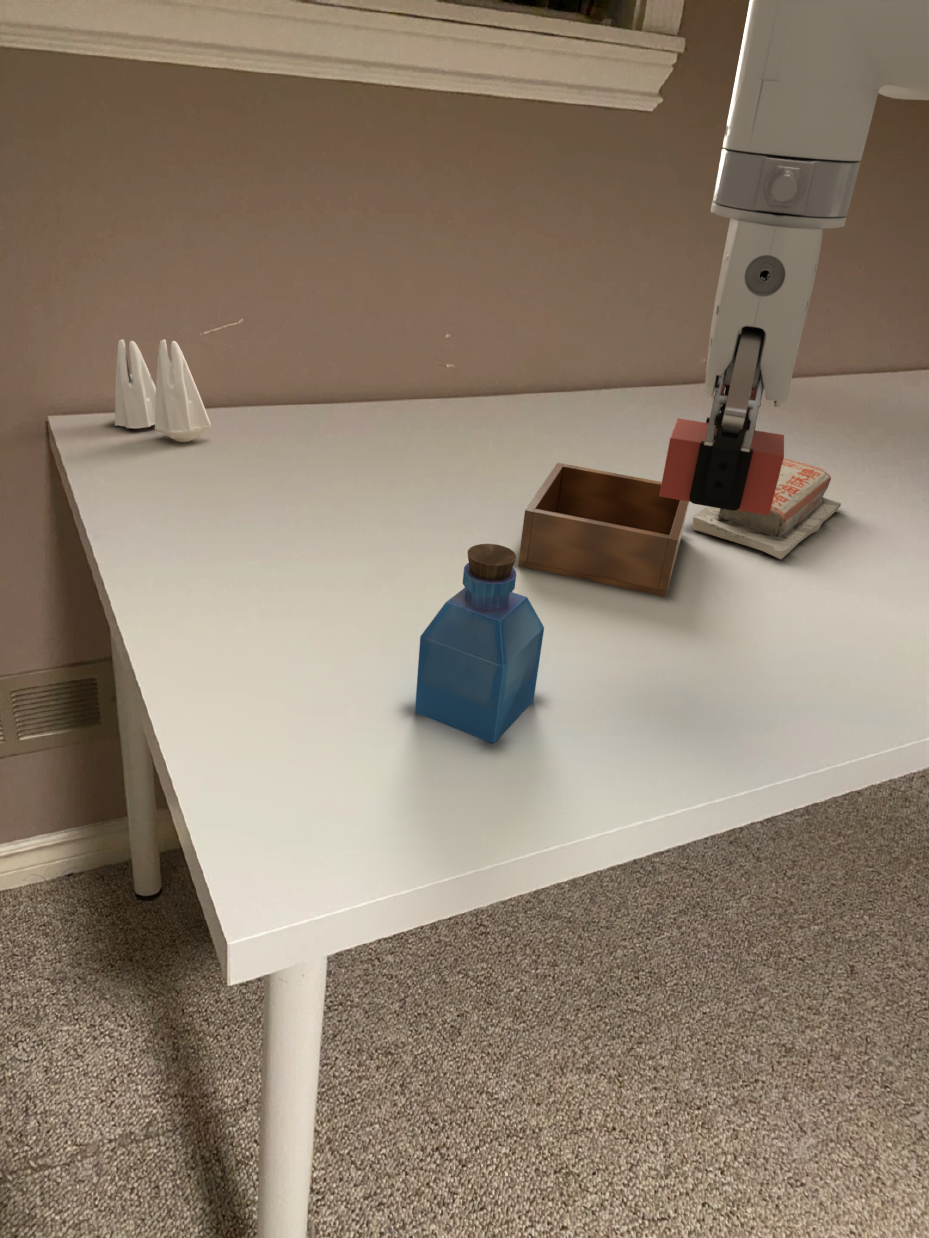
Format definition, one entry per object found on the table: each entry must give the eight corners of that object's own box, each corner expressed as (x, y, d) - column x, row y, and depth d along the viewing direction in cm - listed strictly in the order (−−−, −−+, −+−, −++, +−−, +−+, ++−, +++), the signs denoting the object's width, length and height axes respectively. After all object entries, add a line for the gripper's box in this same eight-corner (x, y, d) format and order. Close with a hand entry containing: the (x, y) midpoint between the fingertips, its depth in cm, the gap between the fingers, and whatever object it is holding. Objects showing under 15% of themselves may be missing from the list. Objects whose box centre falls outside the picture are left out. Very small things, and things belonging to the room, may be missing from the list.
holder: (680, 539, 95) (692, 487, 93) (665, 597, 84) (677, 540, 81) (549, 513, 98) (557, 462, 96) (517, 566, 87) (524, 510, 84)
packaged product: (764, 447, 108) (851, 472, 103) (754, 487, 110) (838, 513, 105) (698, 487, 95) (794, 517, 90) (688, 531, 97) (781, 563, 92)
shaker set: (214, 441, 108) (209, 344, 103) (187, 451, 105) (181, 350, 100) (139, 417, 113) (131, 323, 108) (112, 425, 110) (102, 329, 105)
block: (770, 491, 64) (784, 434, 62) (768, 515, 60) (784, 456, 58) (666, 474, 65) (677, 417, 63) (659, 496, 62) (670, 437, 60)
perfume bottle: (493, 744, 63) (513, 586, 57) (414, 713, 65) (425, 557, 60) (533, 701, 68) (555, 551, 62) (458, 673, 70) (472, 526, 64)
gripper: (861, 213, 46) (772, 553, 55) (843, 188, 60) (775, 461, 69) (704, 196, 47) (643, 529, 56) (723, 176, 62) (672, 444, 71)
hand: (716, 488), depth 63 cm, fingers closed on block, 4 cm apart
